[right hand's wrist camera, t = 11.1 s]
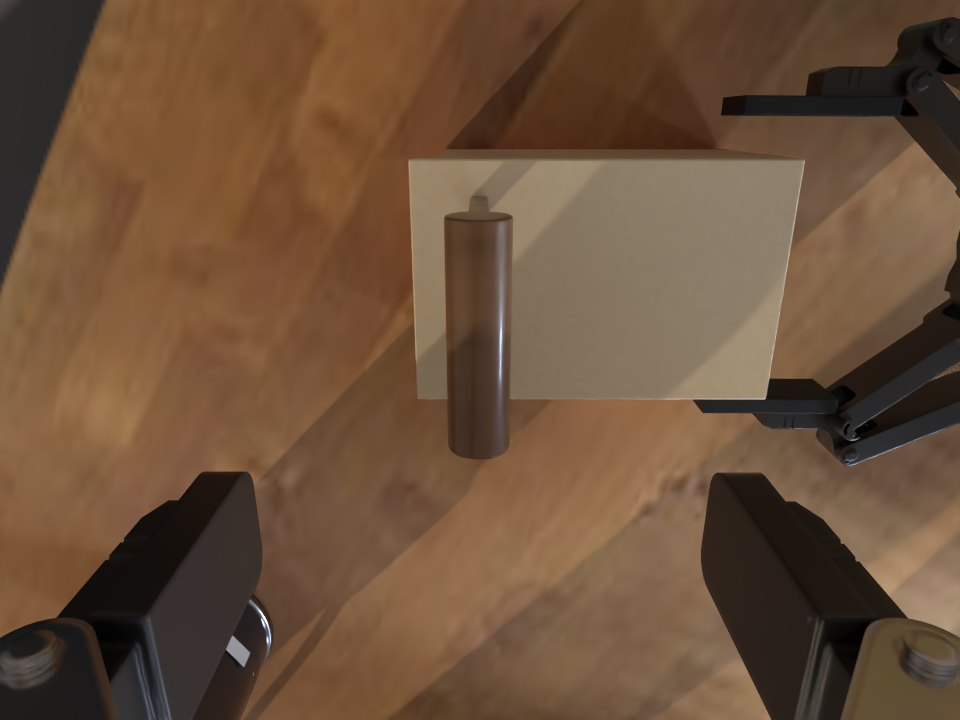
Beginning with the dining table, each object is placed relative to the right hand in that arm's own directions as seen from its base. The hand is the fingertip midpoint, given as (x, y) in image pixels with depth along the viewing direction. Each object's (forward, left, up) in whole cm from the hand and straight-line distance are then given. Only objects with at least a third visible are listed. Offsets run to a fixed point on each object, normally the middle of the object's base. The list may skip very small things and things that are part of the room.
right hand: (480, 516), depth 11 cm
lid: (+1, -5, -18) cm, 19 cm away
